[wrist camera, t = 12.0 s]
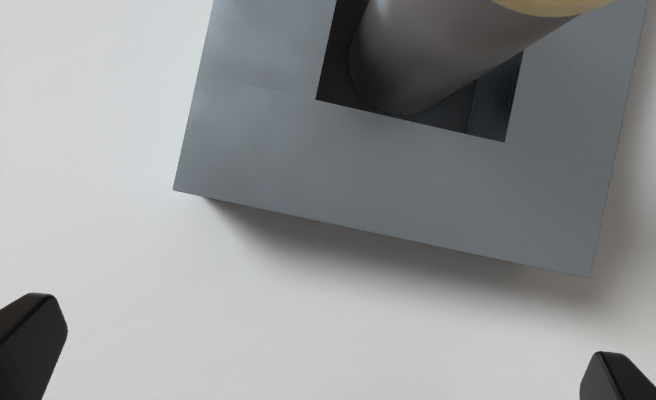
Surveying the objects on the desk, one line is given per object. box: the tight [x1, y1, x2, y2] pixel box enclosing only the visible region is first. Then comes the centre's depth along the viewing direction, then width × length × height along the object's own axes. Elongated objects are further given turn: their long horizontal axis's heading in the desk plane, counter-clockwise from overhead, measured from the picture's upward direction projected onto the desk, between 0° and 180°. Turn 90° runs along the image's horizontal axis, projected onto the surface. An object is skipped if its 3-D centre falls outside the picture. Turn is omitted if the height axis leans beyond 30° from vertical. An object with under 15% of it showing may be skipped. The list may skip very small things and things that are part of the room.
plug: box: [349, 0, 614, 115], centre depth 15 cm, size 5×5×14 cm
